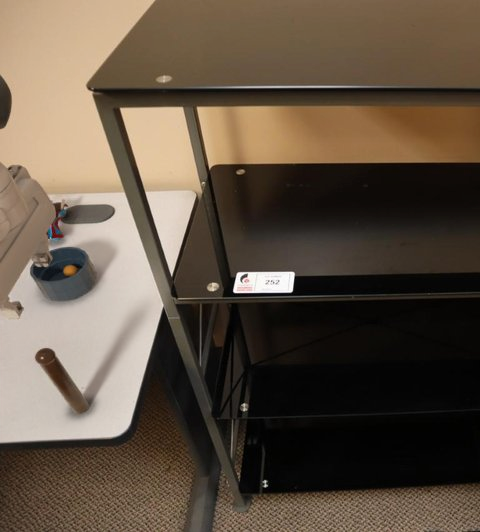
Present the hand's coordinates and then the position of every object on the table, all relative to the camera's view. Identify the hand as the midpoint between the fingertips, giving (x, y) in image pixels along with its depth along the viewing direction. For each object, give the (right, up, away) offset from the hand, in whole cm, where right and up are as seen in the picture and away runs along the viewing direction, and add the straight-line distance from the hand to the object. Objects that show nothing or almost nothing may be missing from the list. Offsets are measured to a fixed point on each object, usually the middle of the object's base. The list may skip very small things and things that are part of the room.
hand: (31, 287), depth 69 cm
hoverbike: (-23, +11, +41) cm, 48 cm away
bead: (-14, +2, +30) cm, 33 cm away
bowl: (-14, -1, +30) cm, 33 cm away
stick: (-1, -20, +12) cm, 23 cm away
